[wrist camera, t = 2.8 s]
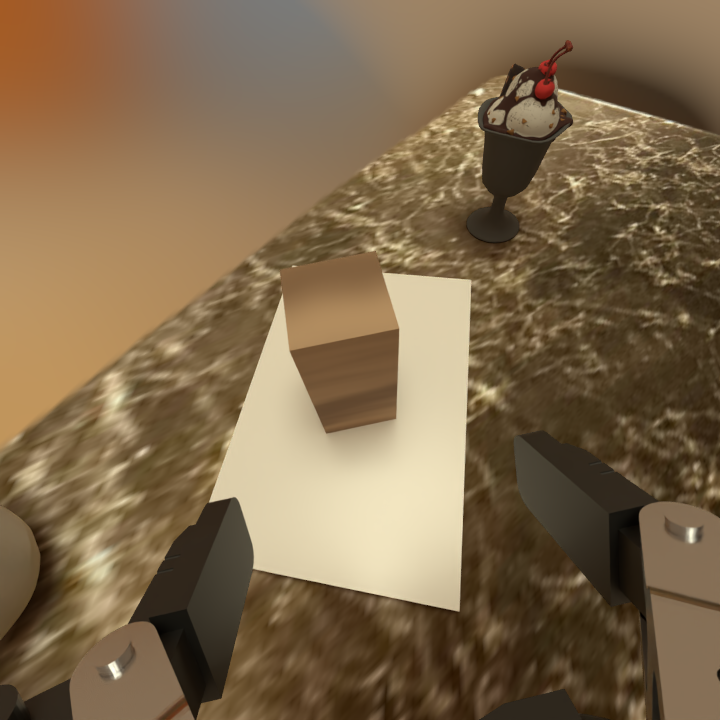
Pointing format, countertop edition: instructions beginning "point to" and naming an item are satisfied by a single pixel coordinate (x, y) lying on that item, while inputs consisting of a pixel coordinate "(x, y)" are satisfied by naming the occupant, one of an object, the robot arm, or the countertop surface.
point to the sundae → (517, 142)
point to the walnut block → (343, 339)
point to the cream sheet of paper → (362, 462)
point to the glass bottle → (16, 568)
